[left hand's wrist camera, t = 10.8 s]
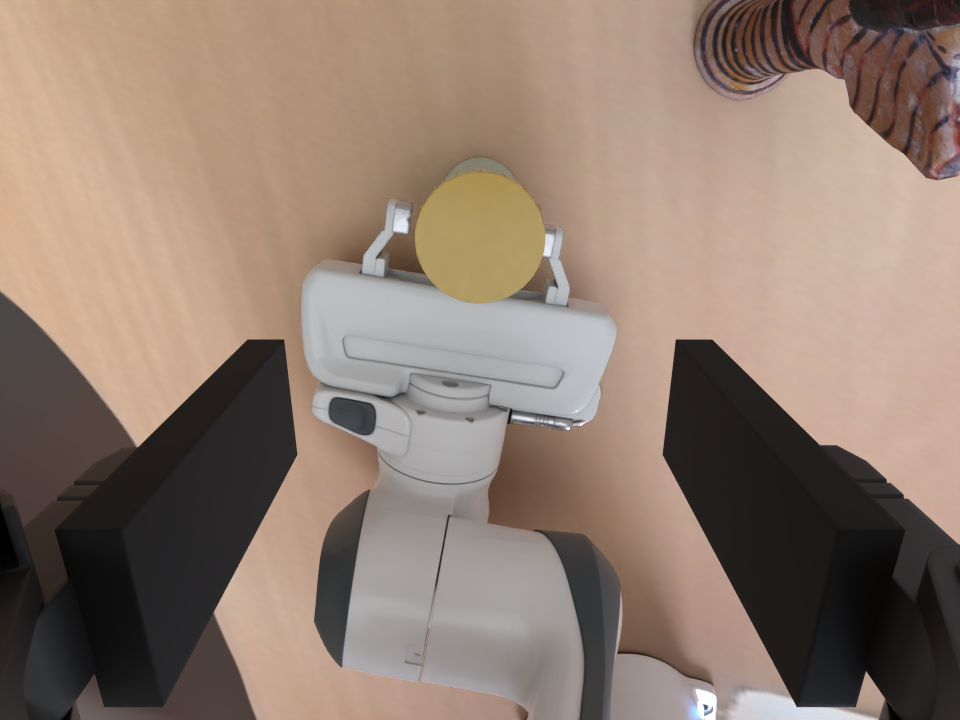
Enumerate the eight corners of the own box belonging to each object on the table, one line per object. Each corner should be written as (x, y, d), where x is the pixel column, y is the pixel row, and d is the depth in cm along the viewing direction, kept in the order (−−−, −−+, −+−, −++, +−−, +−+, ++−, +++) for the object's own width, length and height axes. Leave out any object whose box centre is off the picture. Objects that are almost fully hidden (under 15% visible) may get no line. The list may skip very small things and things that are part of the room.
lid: (540, 162, 31) (543, 164, 30) (546, 290, 34) (550, 299, 32) (409, 174, 31) (405, 177, 30) (424, 300, 34) (422, 310, 32)
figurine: (837, 118, 44) (1472, 131, 16) (731, 178, 45) (1141, 287, 17) (755, -106, 39) (1447, -651, 11) (640, -32, 41) (998, -351, 13)
